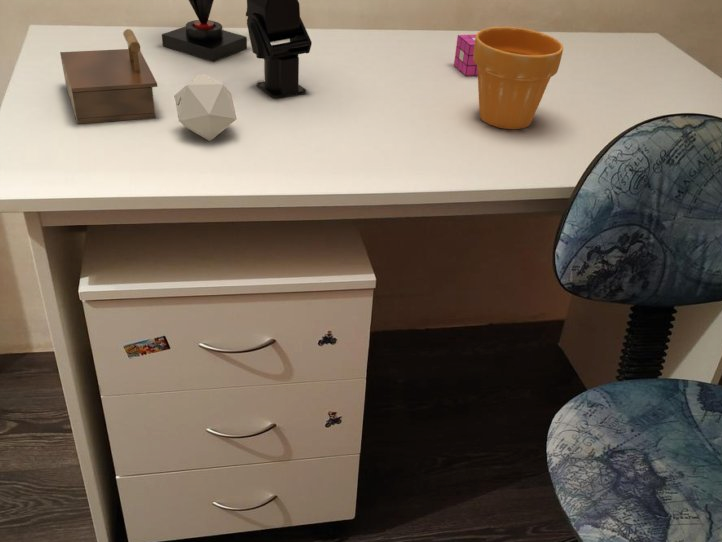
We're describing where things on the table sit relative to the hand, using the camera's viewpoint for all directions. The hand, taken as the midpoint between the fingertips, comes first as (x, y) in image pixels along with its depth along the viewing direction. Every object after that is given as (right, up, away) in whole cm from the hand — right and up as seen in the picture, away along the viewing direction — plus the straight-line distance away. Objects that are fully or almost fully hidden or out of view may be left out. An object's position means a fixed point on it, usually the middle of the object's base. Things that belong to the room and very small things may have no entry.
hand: (203, 22), depth 149 cm
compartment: (-11, -22, -20) cm, 31 cm away
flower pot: (+54, -22, -11) cm, 60 cm away
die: (+6, -29, -25) cm, 39 cm away
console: (0, -3, +3) cm, 4 cm away
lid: (-10, -18, -23) cm, 31 cm away
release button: (0, -1, +1) cm, 2 cm away
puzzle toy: (+50, -7, +6) cm, 51 cm away
